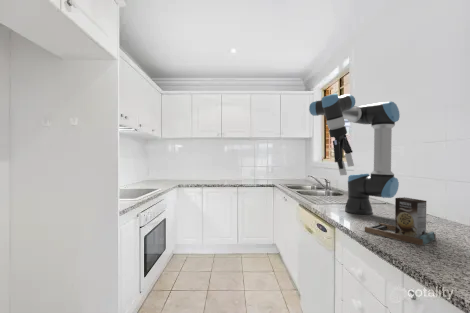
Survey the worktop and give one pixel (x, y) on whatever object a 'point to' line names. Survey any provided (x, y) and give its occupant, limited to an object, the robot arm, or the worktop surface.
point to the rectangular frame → (381, 226)
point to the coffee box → (410, 217)
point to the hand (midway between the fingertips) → (347, 170)
